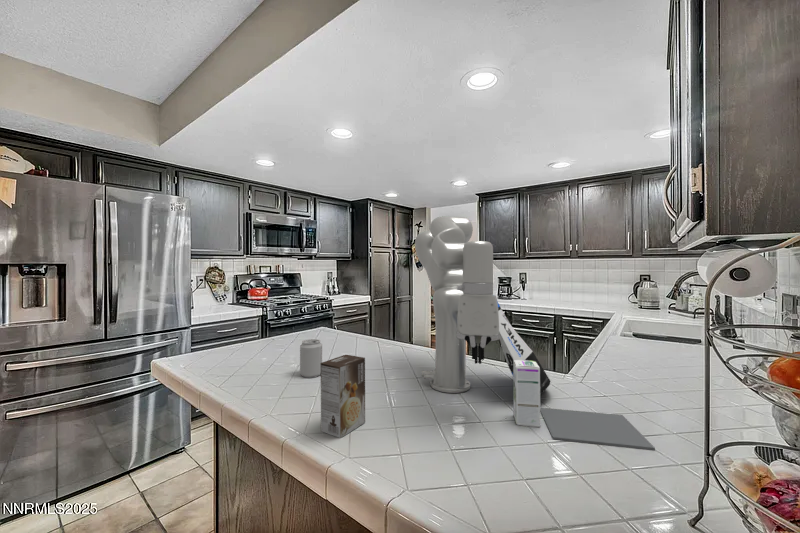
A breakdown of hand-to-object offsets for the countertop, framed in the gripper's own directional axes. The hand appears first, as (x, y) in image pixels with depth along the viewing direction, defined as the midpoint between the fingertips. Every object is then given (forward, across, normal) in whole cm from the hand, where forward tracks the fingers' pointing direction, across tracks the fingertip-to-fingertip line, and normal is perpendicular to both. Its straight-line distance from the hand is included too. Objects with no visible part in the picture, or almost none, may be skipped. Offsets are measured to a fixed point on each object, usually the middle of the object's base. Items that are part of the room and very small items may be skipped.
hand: (477, 362), depth 86 cm
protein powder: (+12, +17, +20) cm, 29 cm away
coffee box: (+14, -31, -12) cm, 36 cm away
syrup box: (+14, +12, +1) cm, 18 cm away
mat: (+14, +26, +1) cm, 30 cm away
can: (+13, -56, +21) cm, 62 cm away
